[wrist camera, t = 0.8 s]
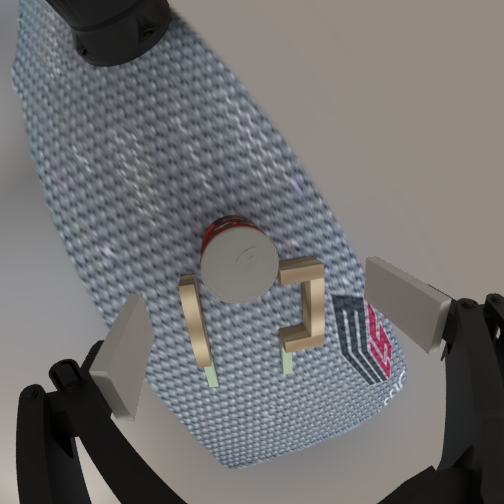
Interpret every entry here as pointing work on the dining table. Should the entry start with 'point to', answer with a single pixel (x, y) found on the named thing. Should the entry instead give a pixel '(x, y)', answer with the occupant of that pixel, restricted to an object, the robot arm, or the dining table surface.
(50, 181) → the dining table surface
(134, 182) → the dining table surface
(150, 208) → the dining table surface
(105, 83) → the dining table surface
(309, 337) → the lane
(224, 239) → the canned food
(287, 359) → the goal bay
